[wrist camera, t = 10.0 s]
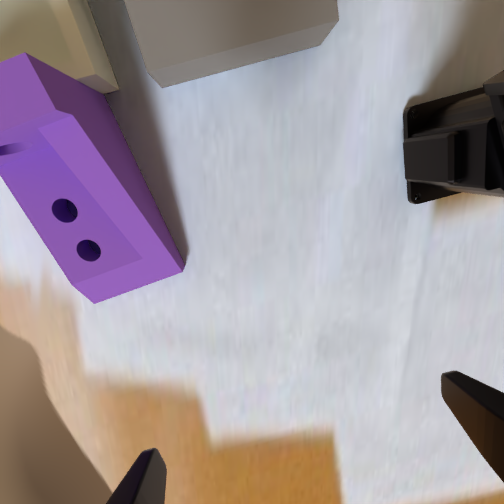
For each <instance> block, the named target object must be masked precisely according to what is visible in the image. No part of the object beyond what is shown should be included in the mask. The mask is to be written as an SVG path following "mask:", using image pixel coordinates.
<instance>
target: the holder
mask: <svg viewBox="0 0 504 504" xmlns="http://www.w3.org/2000/svg"><path fill="white" fill-rule="evenodd" d="M124 2H125V5H126V8H127V11H128V15H129V18H130V21H131V24H132V27H133V30H134V33H135V36H136V39H137V42H138V45H139V48H140V51H141V54H142V57H143V60H144V63H145V66H146V69H147V72H148V73H149V74H150V75H151V77H152V78H153V79H154V80H155V81H156V82H157V83H158V84H159V85H160V86H161V87H162V88H164V87H168V86H171V85H175V84H179V83H182V82H186V81H190V80H194V79H197V78H201V77H205V76H208V75H212V74H216V73H219V72H223V71H227V70H230V69H234V68H238V67H241V66H245V65H249V64H252V63H256V62H260V61H264V60H267V59H271V58H275V57H278V56H282V55H286V54H289V53H293V52H297V51H300V50H304V49H308V48H311V47H315V46H319V45H321V43H322V42H323V41H324V39H325V38H326V37H327V35H328V34H329V33H330V31H331V30H332V29H333V27H334V26H335V25H336V23H337V22H338V21H339V16H338V7H337V0H124Z"/></svg>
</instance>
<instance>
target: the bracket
mask: <svg viewBox="0 0 504 504" xmlns="http://www.w3.org/2000/svg"><path fill="white" fill-rule="evenodd" d="M0 176H1V177H2V179H3V180H4V182H5V183H6V185H7V186H8V188H9V189H10V191H11V192H12V194H13V196H14V197H15V199H16V200H17V202H18V203H19V205H20V206H21V208H22V209H23V211H24V212H25V214H26V215H27V217H28V219H29V220H30V222H31V223H32V225H33V226H34V228H35V229H36V231H37V232H38V234H39V235H40V237H41V238H42V240H43V242H44V243H45V245H46V246H47V248H48V249H49V251H50V252H51V254H52V255H53V257H54V258H55V260H56V261H57V263H58V265H59V266H60V268H61V269H62V271H63V272H64V274H65V275H66V277H67V278H68V280H69V281H70V283H71V284H72V286H74V287H75V288H76V289H77V290H78V291H80V292H81V293H82V294H83V295H84V296H86V297H87V298H88V299H89V300H90V301H91V302H93V303H94V304H95V303H98V302H101V301H104V300H106V299H109V298H112V297H115V296H117V295H120V294H123V293H126V292H129V291H131V290H134V289H137V288H140V287H142V286H145V285H148V284H151V283H153V282H156V281H159V280H162V279H164V278H167V277H170V276H173V275H175V274H178V273H181V272H183V270H184V267H185V264H184V262H183V260H182V258H181V256H180V254H179V251H178V249H177V247H176V245H175V243H174V241H173V239H172V237H171V235H170V233H169V230H168V228H167V226H166V224H165V222H164V220H163V218H162V216H161V214H160V212H159V210H158V207H157V205H156V203H155V201H154V199H153V197H152V195H151V193H150V191H149V189H148V186H147V184H146V182H145V180H144V178H143V176H142V174H141V172H140V170H139V168H138V166H137V163H136V161H135V159H134V157H133V155H132V153H131V151H130V149H129V147H128V145H127V142H126V140H125V138H124V136H123V134H122V132H121V130H120V128H119V126H118V124H117V121H116V119H115V117H114V115H113V113H112V111H111V109H110V107H109V105H108V103H107V101H106V98H105V96H104V95H103V94H101V93H100V92H98V91H96V90H94V89H92V88H90V87H88V86H87V85H85V84H83V83H81V82H79V81H77V80H76V79H74V78H72V77H70V76H68V75H66V74H64V73H63V72H61V71H59V70H57V69H55V68H53V67H51V66H50V65H48V64H46V63H44V62H42V61H40V60H38V59H37V58H35V57H33V56H31V55H29V54H27V53H26V52H24V53H22V54H19V55H17V56H15V57H12V58H10V59H7V60H5V61H2V62H0ZM67 199H68V200H70V201H71V202H73V203H74V205H75V206H76V208H77V211H78V215H77V218H76V217H74V216H73V215H72V214H71V213H70V212H69V210H68V207H67ZM88 240H92V241H94V242H95V243H97V244H98V246H99V247H100V250H101V255H100V254H98V253H96V252H95V251H93V250H92V248H91V247H90V245H89V242H88Z"/></svg>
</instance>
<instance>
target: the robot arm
mask: <svg viewBox="0 0 504 504" xmlns="http://www.w3.org/2000/svg"><path fill="white" fill-rule="evenodd" d="M412 111H413V112H414V117H413V118H411V112H412ZM403 123H404V143H403V148H404V165H405V179H406V180H407V194H408V201H409V202H410V203H413V204H420V203H424V202H427V201H431V200H435V199H439V198H443V197H446V196H450V195H454V194H458V193H461V192H464V193H472V194H481V195H489V196H497V197H504V70H503V71H502V72H500V73H499V74H497V75H495V76H494V77H492V78H491V79H489V80H488V81H486V82H485V83H483V87H482V88H478V89H475V90H471V91H467V92H463V93H460V94H456V95H452V96H448V97H445V98H441V99H437V100H434V101H430V102H426V103H422V104H419V105H415V106H412V107H409V108H407V109H406V110H405V112H404V114H403ZM416 194H417V195H418V197H417V199H415V195H416ZM441 393H442V397H443V399H444V401H445V403H446V404H447V405H448V407H449V408H450V410H451V411H452V413H453V414H454V416H455V417H456V419H457V420H458V421H459V423H460V424H461V426H462V427H463V429H464V430H465V432H466V433H467V435H468V436H469V437H470V439H471V440H472V442H473V443H474V445H475V446H476V448H477V449H478V450H479V452H480V453H481V455H482V456H483V457H484V459H485V460H486V461H487V462H488V464H489V465H490V466H491V467H492V469H493V470H494V471H495V472H496V474H497V475H498V476H499V477H500V479H501V480H502V481H503V482H504V393H503V392H501V391H499V390H496V389H494V388H492V387H490V386H488V385H486V384H484V383H482V382H480V381H478V380H475V379H473V378H471V377H469V376H467V375H465V374H463V373H461V372H458V371H450V372H446V373H443V374H442V375H441ZM166 475H167V469H166V465H165V462H164V460H163V459H162V457H161V455H160V453H159V451H158V449H156V448H151V449H147V450H144V451H143V452H142V453H141V454H140V455H139V456H138V458H137V459H136V461H135V462H134V464H133V465H132V466H131V468H130V469H129V471H128V472H127V474H126V475H125V477H124V478H123V479H122V481H121V482H120V484H119V485H118V487H117V488H116V490H115V491H114V492H113V494H112V496H111V497H110V498H109V500H108V501H107V503H106V504H164V501H165V488H166Z"/></svg>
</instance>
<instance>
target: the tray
mask: <svg viewBox="0 0 504 504" xmlns="http://www.w3.org/2000/svg"><path fill="white" fill-rule="evenodd" d="M24 52H26V53H27V54H29V55H31V56H33V57H35V58H37V59H38V60H40V61H42V62H44V63H46V64H48V65H50V66H51V67H53V68H55V69H57V70H59V71H61V72H63V73H64V74H66V75H68V76H70V77H72V78H74V79H76V80H77V81H79V82H81V83H83V84H85V85H87V86H88V87H90V88H92V89H94V90H96V91H98V92H100V93H101V94H105V93H109V92H113V91H116V90H119V87H118V84H117V81H116V79H115V76H114V73H113V70H112V68H111V65H110V62H109V60H108V57H107V54H106V51H105V49H104V46H103V43H102V40H101V38H100V35H99V32H98V29H97V27H96V24H95V21H94V18H93V16H92V13H91V10H90V8H89V5H88V2H87V0H0V62H2V61H5V60H7V59H10V58H12V57H15V56H17V55H19V54H22V53H24Z"/></svg>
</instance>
